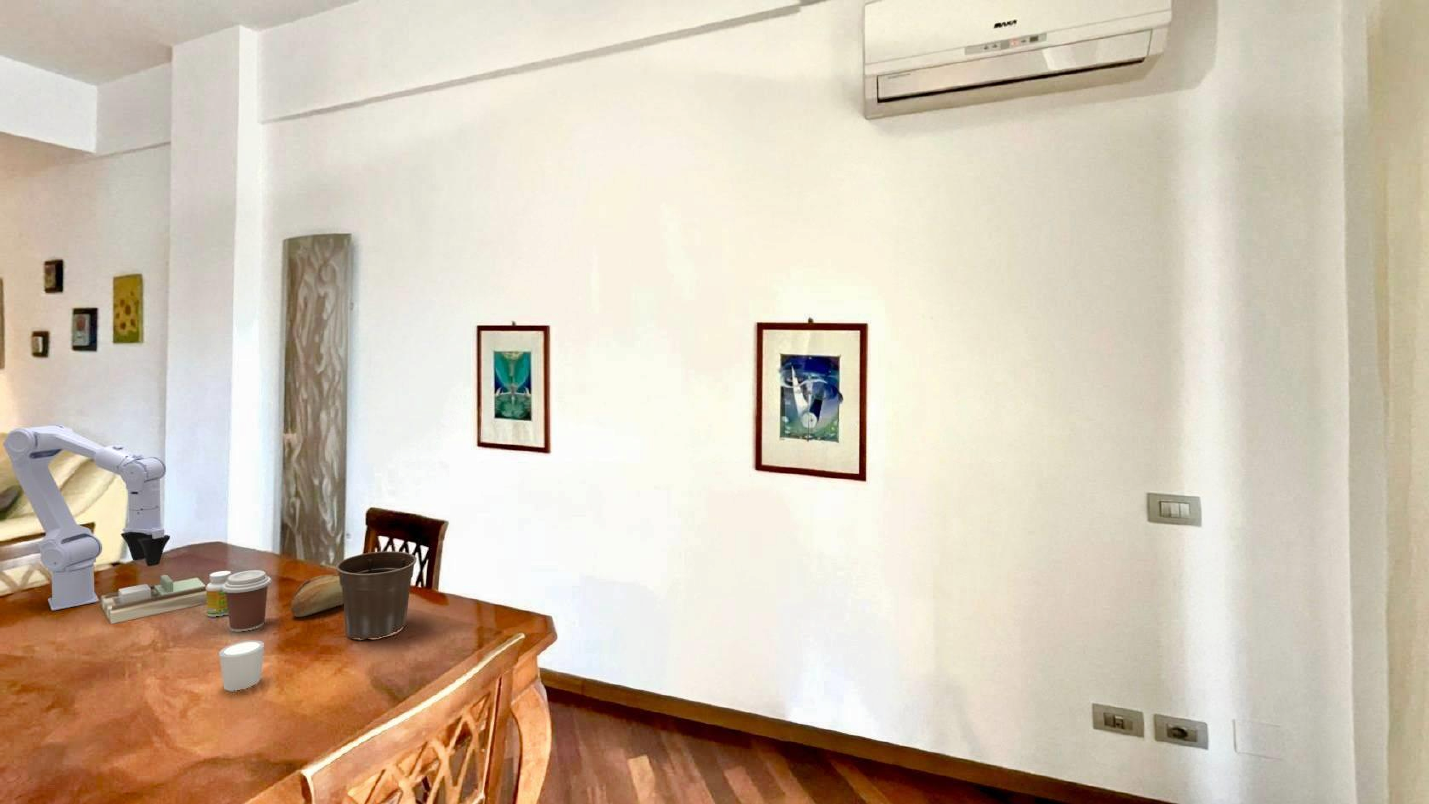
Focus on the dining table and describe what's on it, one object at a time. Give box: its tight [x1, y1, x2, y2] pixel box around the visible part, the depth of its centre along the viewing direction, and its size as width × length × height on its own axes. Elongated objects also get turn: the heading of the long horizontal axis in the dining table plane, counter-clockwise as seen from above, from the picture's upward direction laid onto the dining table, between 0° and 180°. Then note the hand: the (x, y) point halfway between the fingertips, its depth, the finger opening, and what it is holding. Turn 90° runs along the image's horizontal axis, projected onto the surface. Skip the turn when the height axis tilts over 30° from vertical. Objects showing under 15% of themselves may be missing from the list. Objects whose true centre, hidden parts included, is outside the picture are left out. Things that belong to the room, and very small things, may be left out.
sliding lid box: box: [100, 577, 207, 625], centre depth 154 cm, size 15×18×3 cm
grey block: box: [118, 583, 151, 604], centre depth 150 cm, size 5×5×5 cm
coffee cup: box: [222, 569, 272, 633], centre depth 143 cm, size 9×9×12 cm
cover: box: [154, 574, 207, 596], centre depth 157 cm, size 8×8×3 cm
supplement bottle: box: [206, 570, 232, 618], centre depth 150 cm, size 5×5×10 cm
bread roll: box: [290, 574, 344, 618], centre depth 154 cm, size 10×15×8 cm, turn 157°
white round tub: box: [218, 640, 265, 692], centre depth 119 cm, size 7×7×7 cm
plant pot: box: [335, 550, 417, 640], centre depth 143 cm, size 16×16×16 cm
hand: (146, 562), depth 153 cm, fingers open, 7 cm apart
